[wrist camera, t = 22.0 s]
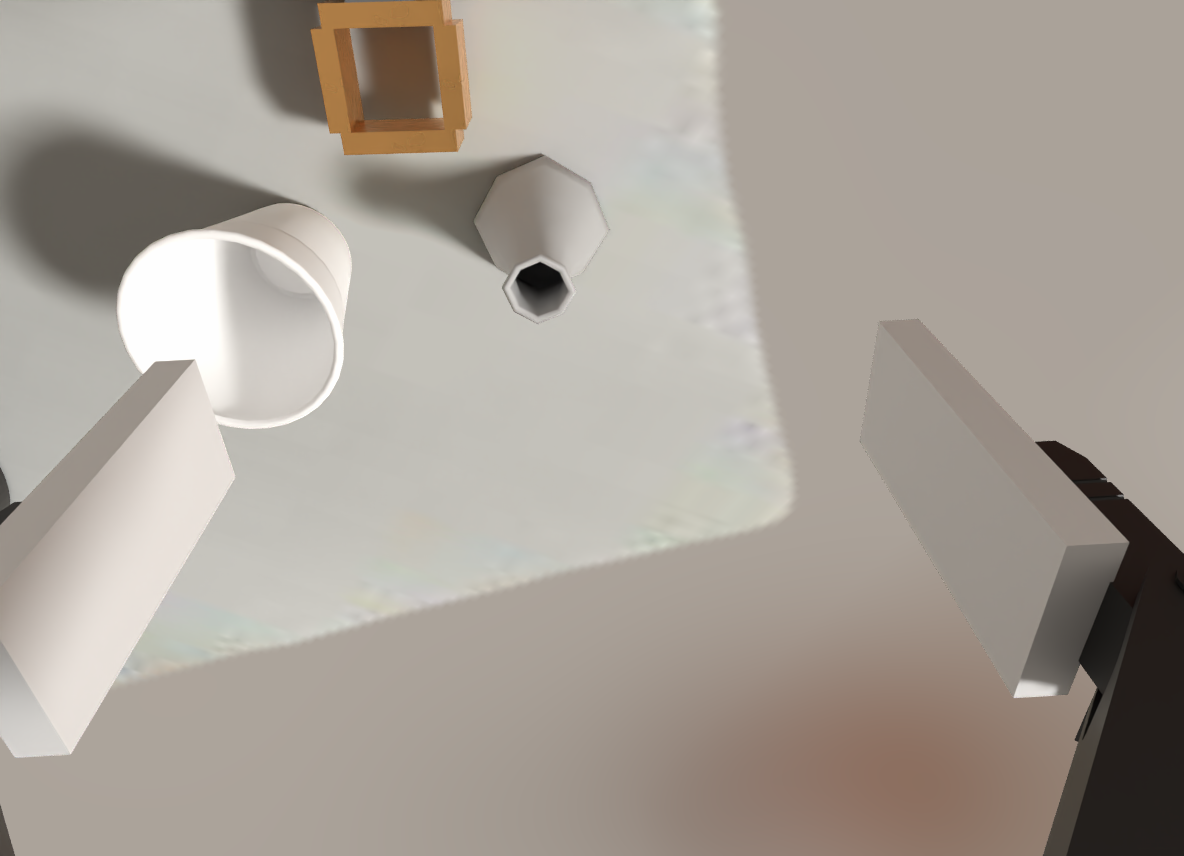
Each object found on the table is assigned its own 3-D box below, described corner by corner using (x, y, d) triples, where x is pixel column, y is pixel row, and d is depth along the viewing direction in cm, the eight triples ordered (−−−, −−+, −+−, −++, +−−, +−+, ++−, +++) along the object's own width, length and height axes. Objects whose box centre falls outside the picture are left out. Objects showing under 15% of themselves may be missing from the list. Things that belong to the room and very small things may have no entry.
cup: (334, 363, 49) (281, 464, 40) (178, 270, 46) (80, 356, 36) (419, 239, 45) (383, 318, 36) (256, 126, 42) (169, 181, 32)
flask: (546, 129, 42) (544, 177, 34) (631, 229, 45) (649, 296, 37) (450, 218, 45) (426, 284, 36) (538, 307, 48) (534, 388, 39)
